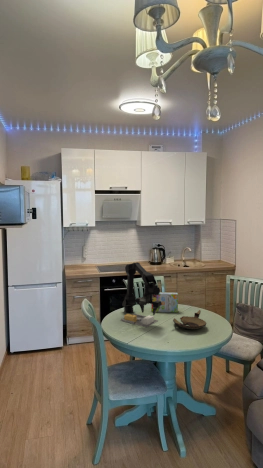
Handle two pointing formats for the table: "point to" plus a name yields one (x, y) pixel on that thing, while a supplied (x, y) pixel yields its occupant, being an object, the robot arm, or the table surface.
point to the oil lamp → (191, 321)
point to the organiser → (139, 321)
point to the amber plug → (130, 317)
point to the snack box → (166, 302)
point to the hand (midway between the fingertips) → (148, 313)
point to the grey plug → (148, 319)
